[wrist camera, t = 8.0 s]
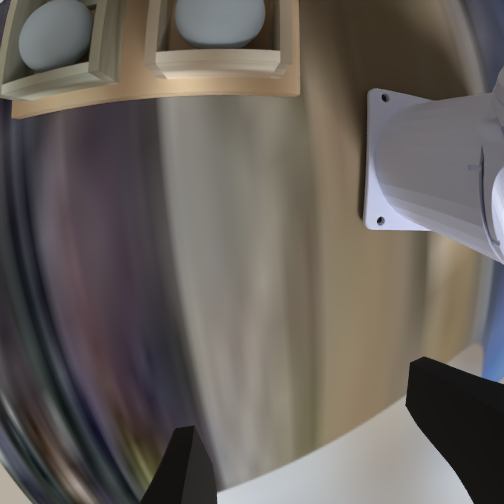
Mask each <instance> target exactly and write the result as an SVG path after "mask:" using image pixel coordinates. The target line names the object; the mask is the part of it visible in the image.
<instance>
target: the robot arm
mask: <svg viewBox="0 0 504 504" xmlns="http://www.w3.org/2000/svg"><path fill="white" fill-rule="evenodd" d="M382 95H385V97H386V99H387V100H386V102H384V101H383V100H382ZM379 217H382V221H381V223H380V224H377V219H378V218H379ZM363 224H364V225H365V226H366V227H367V228H369V229H372V230H429V231H434V232H436V233H439V234H441V235H443V236H445V237H448V238H450V239H452V240H454V241H456V242H459V243H461V244H463V245H465V246H467V247H469V248H472V249H474V250H476V251H478V252H480V253H482V254H484V255H486V256H488V257H490V258H492V259H494V260H496V261H498V262H500V263H502V264H504V67H503V68H502V69H501V71H500V73H499V75H498V78H497V82H496V85H495V87H494V89H493V91H492V93H487V94H479V95H471V96H464V97H457V98H451V99H444V100H438V101H433V100H429V99H425V98H421V97H417V96H412V95H408V94H404V93H399V92H394V91H389V90H384V89H379V88H374V89H371V90H369V92H368V94H367V157H366V180H365V197H364V211H363ZM405 405H406V407H407V409H408V411H409V412H410V414H411V416H412V417H413V419H414V421H415V422H416V424H417V425H418V427H419V428H420V429H421V431H422V432H423V433H424V434H425V436H426V437H427V438H428V439H429V440H430V442H431V443H432V444H433V445H434V446H435V448H436V449H437V450H438V451H439V452H440V454H441V455H442V456H443V457H444V458H445V459H446V461H447V462H448V463H449V464H450V466H451V467H452V468H453V470H454V471H455V472H456V474H457V475H458V477H459V479H460V480H461V482H462V483H463V485H464V487H465V489H466V490H467V492H468V494H469V496H470V497H471V499H472V501H473V503H474V504H504V384H501V383H498V382H494V381H491V380H487V379H484V378H481V377H478V376H475V375H473V374H470V373H467V372H464V371H462V370H459V369H456V368H454V367H451V366H449V365H446V364H444V363H441V362H438V361H436V360H433V359H430V358H427V357H422V358H420V359H417V360H415V361H413V362H410V368H409V379H408V388H407V396H406V404H405ZM139 504H217V490H216V484H215V478H214V472H213V466H212V462H211V460H210V458H209V456H208V454H207V452H206V450H205V448H204V445H203V443H202V441H201V439H200V437H199V434H198V432H197V430H196V428H195V426H188V427H182V428H176V429H175V430H174V431H173V434H172V437H171V439H170V442H169V444H168V447H167V449H166V451H165V454H164V456H163V458H162V461H161V463H160V465H159V467H158V469H157V471H156V473H155V475H154V477H153V480H152V482H151V484H150V485H149V487H148V489H147V491H146V493H145V494H144V496H143V498H142V500H141V501H140V503H139Z"/></svg>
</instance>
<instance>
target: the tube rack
mask: <svg viewBox="0 0 504 504" xmlns="http://www.w3.org/2000/svg"><path fill="white" fill-rule="evenodd" d="M51 1H54V0H11V4H10V8H9V11H8V16H7V20H6V24H5V29H4V33H3V38H2V43H1V49H0V98H4V99H10V100H13V101H12V118H15V119H23V118H27V117H31V116H36V115H40V114H45V113H50V112H55V111H60V110H65V109H70V108H76V107H82V106H88V105H95V104H102V103H109V102H117V101H126V100H135V99H146V98H158V97H173V96H194V95H261V96H282V97H297V96H298V95H299V94H300V38H299V2H298V0H263V1H264V5H265V20H264V24H263V26H262V28H261V30H260V32H259V33H258V35H257V36H256V37H255V38H254V39H253V40H252V41H251V42H250V43H248V44H247V45H245V46H244V47H242V48H240V49H197V48H195V47H193V46H192V45H190V44H189V43H188V42H186V41H185V40H184V39H183V37H182V36H181V35H180V33H179V31H178V29H177V27H176V24H175V18H174V13H175V7H176V3H177V1H178V0H76V1H78V2H81V3H82V4H84V5H85V6H86V7H87V8H88V9H89V10H90V12H91V13H92V16H93V18H94V24H93V31H92V39H91V46H90V48H89V50H88V51H87V53H86V54H85V55H84V57H83V58H82V59H81V60H80V61H79V62H77V63H76V64H75V65H71V66H66V67H62V68H58V69H54V70H50V71H46V72H42V73H40V72H37V71H35V70H33V69H31V68H30V67H29V66H27V65H26V63H25V62H24V61H23V59H22V57H21V55H20V51H19V37H20V33H21V30H22V28H23V25H24V24H25V22H26V20H27V19H28V18H29V16H30V15H31V14H32V13H33V12H34V11H35V10H37V9H38V8H39V7H41V6H42V5H44V4H46V3H48V2H51Z"/></svg>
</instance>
